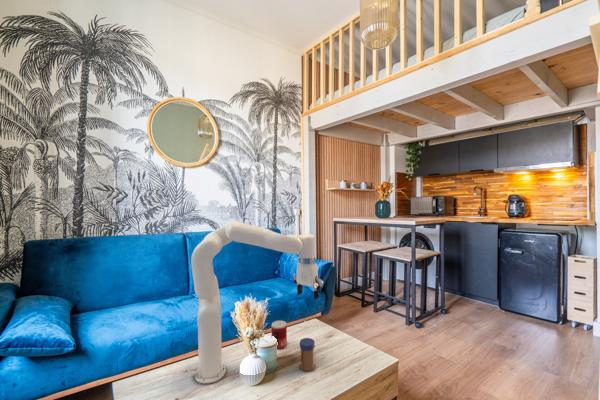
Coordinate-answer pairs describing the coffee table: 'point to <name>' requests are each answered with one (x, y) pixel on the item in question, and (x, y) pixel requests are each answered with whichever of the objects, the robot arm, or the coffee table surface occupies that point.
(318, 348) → the coffee table surface
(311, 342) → the lid
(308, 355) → the jar
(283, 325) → the canned food
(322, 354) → the coffee table surface
